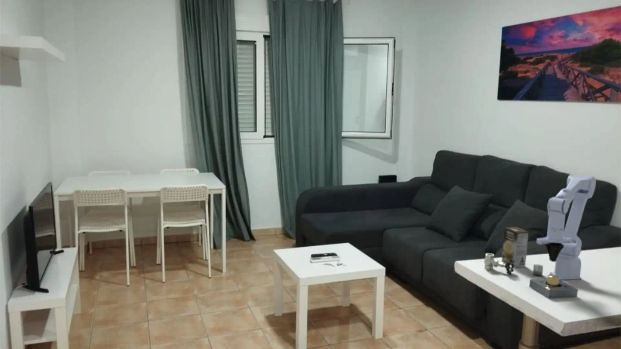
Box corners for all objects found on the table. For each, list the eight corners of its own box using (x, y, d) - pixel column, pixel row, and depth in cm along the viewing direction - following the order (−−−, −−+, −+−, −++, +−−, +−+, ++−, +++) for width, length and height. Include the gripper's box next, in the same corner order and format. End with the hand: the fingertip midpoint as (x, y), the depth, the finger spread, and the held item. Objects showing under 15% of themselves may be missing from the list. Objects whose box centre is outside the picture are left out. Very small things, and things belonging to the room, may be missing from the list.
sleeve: (535, 273, 217) (536, 264, 217) (544, 275, 215) (544, 265, 214) (531, 274, 215) (532, 265, 215) (540, 276, 212) (540, 267, 212)
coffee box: (500, 261, 233) (503, 227, 230) (512, 260, 234) (515, 226, 232) (514, 267, 224) (517, 232, 221) (526, 266, 226) (529, 231, 223)
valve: (480, 269, 221) (507, 276, 212) (481, 254, 220) (508, 261, 211) (487, 266, 225) (514, 273, 217) (488, 251, 224) (515, 258, 216)
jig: (556, 285, 203) (557, 278, 203) (577, 296, 192) (577, 289, 191) (529, 286, 201) (530, 279, 201) (548, 298, 189) (549, 290, 189)
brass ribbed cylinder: (553, 289, 199) (554, 274, 198) (559, 293, 195) (561, 278, 194) (544, 289, 198) (545, 274, 197) (550, 293, 194) (551, 278, 194)
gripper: (545, 230, 195) (542, 264, 197) (579, 230, 198) (575, 263, 200) (534, 226, 202) (531, 259, 204) (566, 225, 205) (563, 257, 207)
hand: (552, 260), depth 202 cm, fingers closed
